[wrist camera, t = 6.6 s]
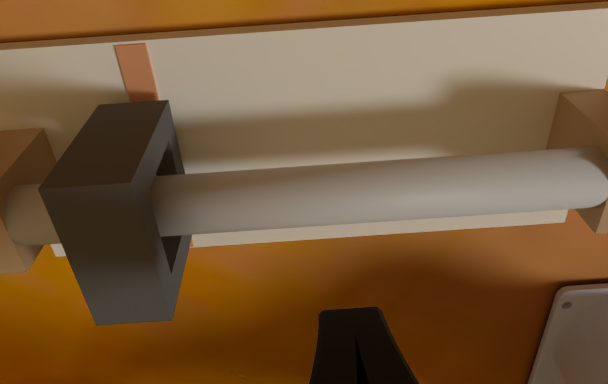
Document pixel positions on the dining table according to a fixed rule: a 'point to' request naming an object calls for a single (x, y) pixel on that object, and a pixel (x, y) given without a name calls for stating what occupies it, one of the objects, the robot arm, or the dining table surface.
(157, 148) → the grey square collar
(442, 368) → the dining table surface
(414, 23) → the pipe rig
